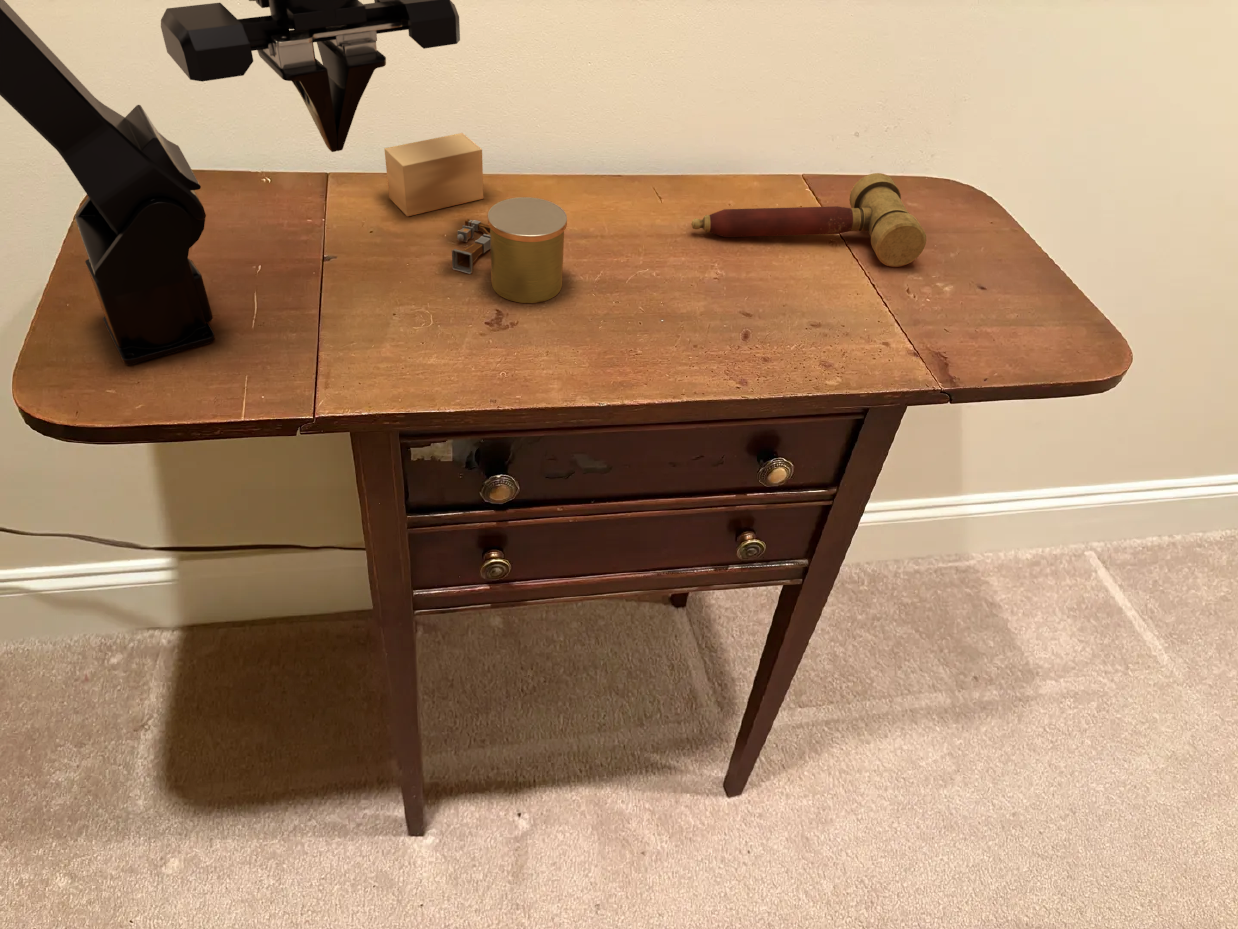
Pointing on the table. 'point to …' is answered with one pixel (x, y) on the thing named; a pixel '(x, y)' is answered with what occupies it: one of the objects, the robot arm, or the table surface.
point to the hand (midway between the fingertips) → (334, 149)
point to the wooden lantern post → (469, 255)
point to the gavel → (835, 221)
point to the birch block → (434, 173)
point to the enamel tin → (527, 249)
